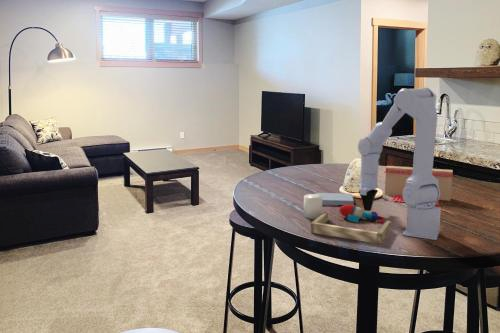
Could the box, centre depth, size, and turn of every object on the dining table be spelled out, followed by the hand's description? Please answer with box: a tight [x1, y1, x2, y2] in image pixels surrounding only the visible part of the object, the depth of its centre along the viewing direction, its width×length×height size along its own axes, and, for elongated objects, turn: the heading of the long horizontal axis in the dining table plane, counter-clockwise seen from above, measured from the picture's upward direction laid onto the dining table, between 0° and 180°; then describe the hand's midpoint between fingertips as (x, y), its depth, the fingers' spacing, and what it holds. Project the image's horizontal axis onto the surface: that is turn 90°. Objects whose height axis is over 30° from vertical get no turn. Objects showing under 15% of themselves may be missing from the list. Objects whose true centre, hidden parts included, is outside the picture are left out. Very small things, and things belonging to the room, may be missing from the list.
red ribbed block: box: [384, 165, 454, 206], centre depth 168 cm, size 25×13×12 cm, turn 66°
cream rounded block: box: [303, 193, 323, 220], centre depth 151 cm, size 6×6×7 cm
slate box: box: [315, 192, 355, 206], centre depth 168 cm, size 14×10×2 cm
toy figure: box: [339, 204, 385, 224], centre depth 147 cm, size 8×5×15 cm
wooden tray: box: [310, 211, 391, 245], centre depth 135 cm, size 21×13×3 cm, turn 61°
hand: (367, 210), depth 153 cm, fingers closed
